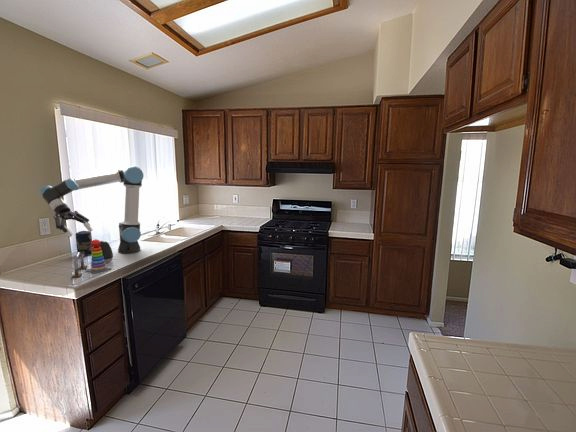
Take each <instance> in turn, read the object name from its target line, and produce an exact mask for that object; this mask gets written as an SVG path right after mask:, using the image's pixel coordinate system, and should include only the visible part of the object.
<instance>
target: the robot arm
mask: <svg viewBox="0 0 576 432" xmlns="http://www.w3.org/2000/svg"><path fill="white" fill-rule="evenodd" d="M143 179H144V172H143V170H142V169H141V168H140V167H138V166H135V165H130V166H127V167H122V168H121V169H120V168H119V169H116V170H115V171H111V172H104V173H100V174H93V175H88V176H83V177H77V178H72V177H71V178H67V179H64V180H62V181H61V182H60V183H58V184H56V185H55V186H51V185H46V186H42V187H41V188H40V189H39V195H40V196H41V197H42V199H44V201H45V202H46V203H47V204H48V205H49V207H50V208H51V209H52V210H53V211H54V213H55V214H54V215H53V219H54V222H55V228H56V229H57V230H60V231H62V232H63V233H65V234H66V235H67V236H68V238H71V237H72V236H73V233H72V231H71V230H70V229H69V228H68V227H67V225H65V223H66V221H68V220H72V221H76V222H79V223H82V224H83V226H84V227H85V229H86V231H89V232H91V233H92V231H94V230H93V228H92V227H91V224H90V223H89V221H90V219H89V218H88V217H86V216H85V215H82V214H81V213H80V212H79V211H77V210H74V211H71V208H70V207H69V205H68V204H67V203H66V202H65V201H64V199H63V198H62V197H64V196H67V195H68V194H70V193H72V192H73V191H78V190H82V189H89V188H92V187H99V186H104V185H109V184H115V183H120V184H121V183H122V184H123V186H124V187H125V196H124V197H125V198H124V200H125V201H124V202H125V203H124V221H122V222H119V223H118V232H119V233H118V234H119V245H118V249H117V253H118V254H120V255H121V254H123V255H127V254H128V255H129V254H134V253H138V252H140V251H141V246H140V244H139V242H138V241H139V240H140V238H141V236H142V234H141V223H140V222H139V205H140V203H139V202H140V201H139V200H140V189H141V187H142V186H143ZM60 218H61V220H60Z"/></svg>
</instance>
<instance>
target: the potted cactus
mask: <svg viewBox="0 0 576 432" xmlns="http://www.w3.org/2000/svg"><path fill="white" fill-rule="evenodd" d="M99 241H100V242H101V244H100V246H99V247H101V250H102V254H103V256H104V260H105V261H104V262H105V265H106V264H109V263H111V262H112V261H113V258H114V254H113V250H112V248H111V246H110V243H109V242H108V241H107V240H99Z"/></svg>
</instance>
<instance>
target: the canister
mask: <svg viewBox="0 0 576 432" xmlns="http://www.w3.org/2000/svg"><path fill="white" fill-rule="evenodd" d="M75 241H76V242H75V243H76V253H77V252H79V253H81V254H83V257H85V256H91V255H92V253H91V252H92V250H91V249H92V248H93V247H92V246H91V242H92V241H93V236H92V231H91V232H89V231H88V230H81V231H78V232H76V233H75Z"/></svg>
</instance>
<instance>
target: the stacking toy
mask: <svg viewBox="0 0 576 432" xmlns="http://www.w3.org/2000/svg"><path fill="white" fill-rule="evenodd" d="M100 241H101V240H99V239H92V242H91V246H92V247H93V248H92V249H91V250H92V252H91V253H92V254H91V255H90V256H91V261H90V263H91V264H90V266H91V267H90V269H91V270H94V271H98V270H103V269H105V268H106V267H107V265H106V264H105V262H104V261H105V260H104V256H103V254H102V250H101V247H99V246H100V244H101V242H100Z"/></svg>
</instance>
